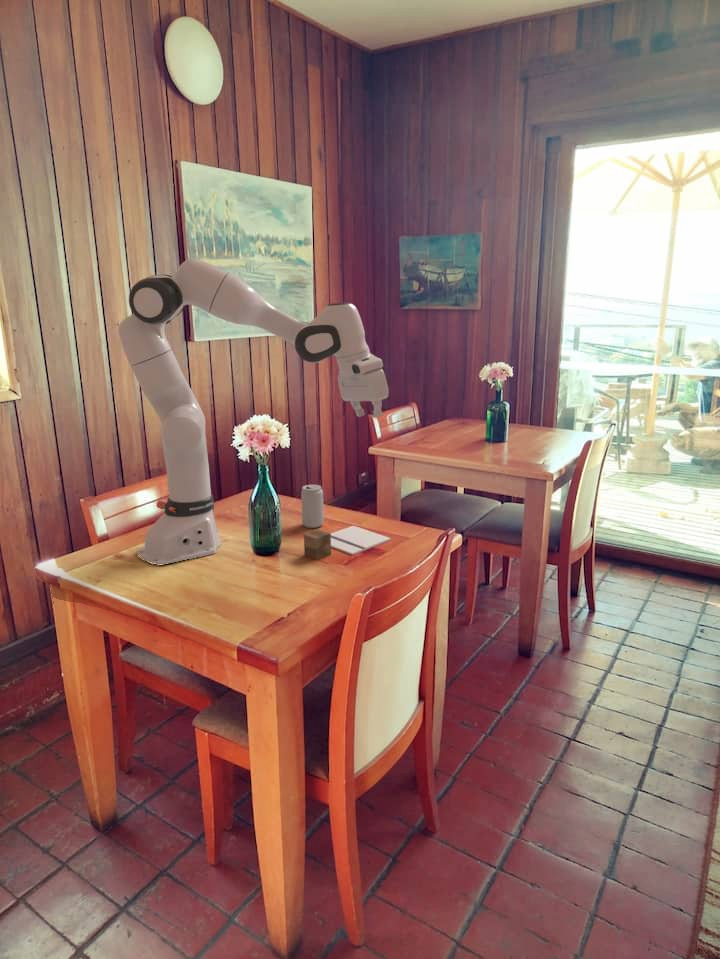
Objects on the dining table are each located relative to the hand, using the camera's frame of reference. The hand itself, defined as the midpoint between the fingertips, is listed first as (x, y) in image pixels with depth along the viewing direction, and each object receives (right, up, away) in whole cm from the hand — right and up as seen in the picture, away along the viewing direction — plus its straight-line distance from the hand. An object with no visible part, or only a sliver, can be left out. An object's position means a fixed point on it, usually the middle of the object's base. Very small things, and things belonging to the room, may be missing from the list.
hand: (369, 416), depth 172 cm
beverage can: (-17, -30, +24) cm, 42 cm away
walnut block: (-14, -37, +2) cm, 39 cm away
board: (-5, -34, +12) cm, 36 cm away
